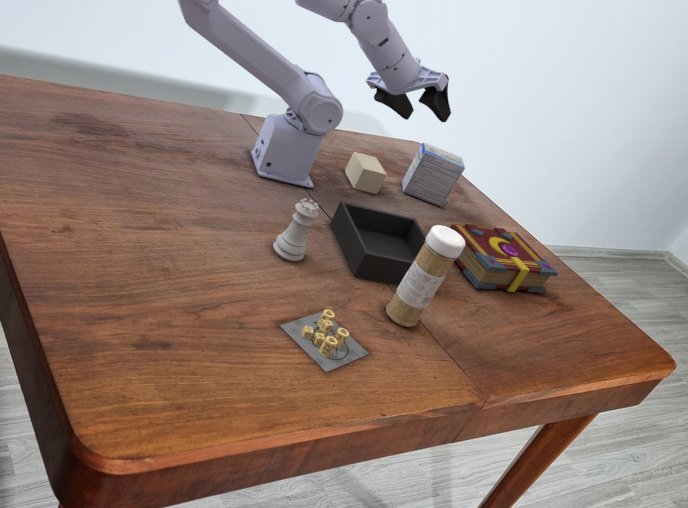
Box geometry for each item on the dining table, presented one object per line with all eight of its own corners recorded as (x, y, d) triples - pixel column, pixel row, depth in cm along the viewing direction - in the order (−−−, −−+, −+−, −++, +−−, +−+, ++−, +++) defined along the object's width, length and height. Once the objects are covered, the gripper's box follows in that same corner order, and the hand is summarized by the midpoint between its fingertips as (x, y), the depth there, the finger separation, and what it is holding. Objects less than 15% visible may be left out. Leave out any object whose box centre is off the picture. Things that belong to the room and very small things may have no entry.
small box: (353, 188, 120) (363, 168, 118) (344, 171, 125) (353, 151, 123) (376, 194, 122) (386, 174, 120) (366, 176, 126) (376, 157, 124)
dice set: (322, 319, 86) (328, 308, 85) (351, 347, 83) (358, 335, 82) (294, 329, 82) (301, 317, 81) (324, 358, 80) (331, 346, 79)
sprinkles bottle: (403, 305, 96) (452, 224, 88) (422, 328, 93) (474, 246, 85) (378, 305, 93) (425, 222, 86) (396, 329, 90) (447, 245, 83)
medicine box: (439, 197, 131) (462, 157, 126) (442, 208, 127) (466, 167, 123) (400, 182, 130) (422, 141, 125) (402, 192, 126) (424, 150, 122)
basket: (353, 276, 97) (366, 253, 95) (329, 222, 107) (340, 200, 105) (434, 292, 102) (447, 270, 99) (404, 239, 112) (415, 218, 110)
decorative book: (437, 244, 114) (452, 219, 112) (507, 252, 122) (523, 229, 120) (475, 290, 107) (492, 264, 104) (547, 295, 115) (565, 271, 112)
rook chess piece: (307, 255, 97) (330, 206, 93) (295, 267, 93) (318, 217, 89) (279, 238, 98) (301, 190, 93) (266, 250, 94) (288, 200, 90)
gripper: (441, 34, 103) (476, 98, 111) (367, 37, 113) (405, 95, 122) (417, 71, 101) (455, 133, 110) (345, 71, 112) (384, 127, 121)
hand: (427, 116), depth 116 cm, fingers open, 7 cm apart
